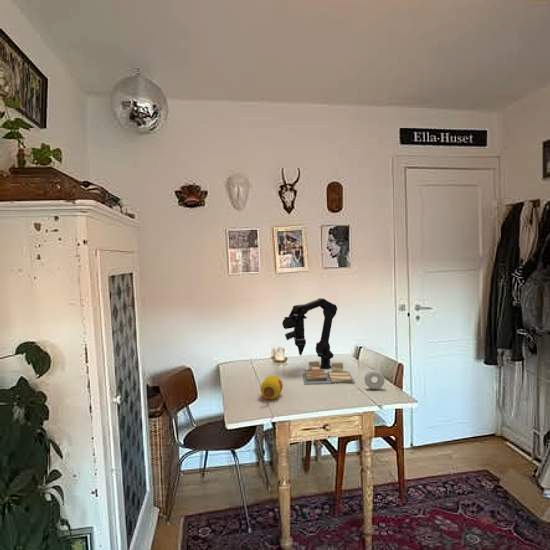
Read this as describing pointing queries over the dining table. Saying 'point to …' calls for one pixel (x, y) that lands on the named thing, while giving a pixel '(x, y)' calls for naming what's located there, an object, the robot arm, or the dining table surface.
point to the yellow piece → (271, 387)
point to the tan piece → (339, 373)
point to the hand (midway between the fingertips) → (300, 353)
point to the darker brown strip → (309, 372)
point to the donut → (374, 374)
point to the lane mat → (323, 380)
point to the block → (315, 371)
